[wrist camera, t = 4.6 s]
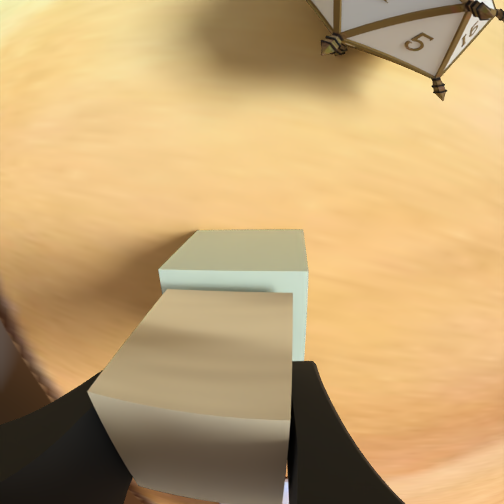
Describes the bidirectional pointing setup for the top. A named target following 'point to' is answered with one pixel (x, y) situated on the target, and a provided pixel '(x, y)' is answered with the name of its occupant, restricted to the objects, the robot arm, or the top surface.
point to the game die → (406, 30)
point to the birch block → (204, 396)
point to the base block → (245, 268)
